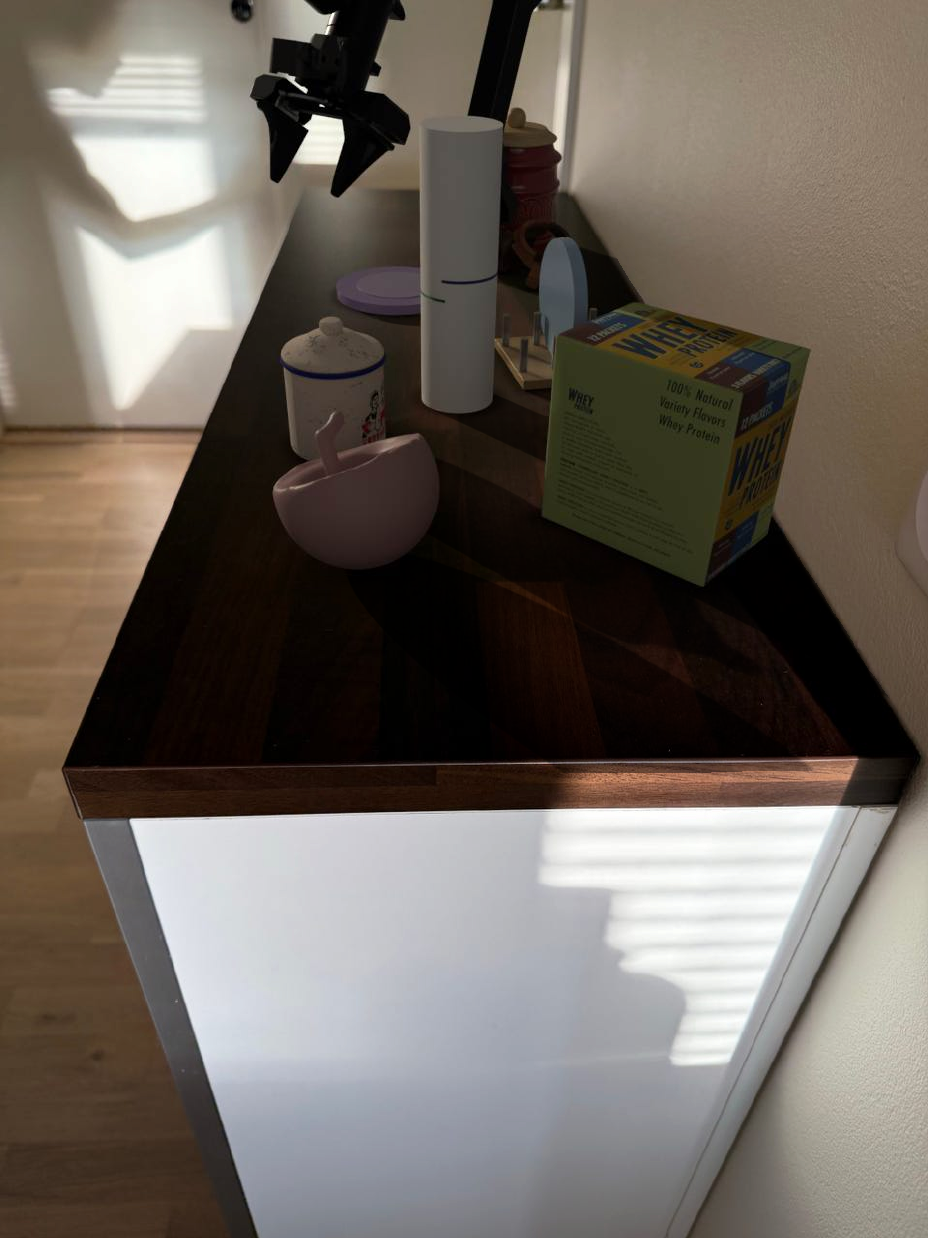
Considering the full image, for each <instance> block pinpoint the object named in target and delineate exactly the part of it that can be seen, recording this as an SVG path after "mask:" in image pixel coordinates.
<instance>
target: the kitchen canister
mask: <svg viewBox="0 0 928 1238" xmlns="http://www.w3.org/2000/svg"><path fill="white" fill-rule="evenodd" d="M557 141H558V136H557V135H556V134H555V133H553V131H551V130H550V129H549V128H548V127H547V126H546V125H544V124H543V123H539V122H533V121H527V115H526V112H525V110H524V109H523V108H521V107H518V106H517V107H511V109H510V108H509V112H508V116H507V120H506V124H505V128H504V133H503V144H504V148H505V152H506V156H507V160H508V171H507V177H506V181H507V183H508V185H509V186H510V188H511V189H512V191H513V192H514V194H515V195H516V197H517V199H518V200H519V205H518V209H517V213H516V217H515V218H513V219H511V222H509V223H501V230H503V231H505V232H507V233H512V232H514V231H516V230H517V229H519V228H521V226H522V225H523V224H524V223H525V222H527V221H529V220H532V219H543V220H547V221H550V222H554V223H556V224H557V216H558V203H559V202H558V200H559V188H560V185H561V181H560V179H559V178H558V166H559V164H560V163H561V161H562V159H563V155H562V154H561V153H560V151H559V150H557V149H556V148H555V145H554V144H555V143H556V142H557ZM553 238H555V236H554V235H553V234H552V233H551V232H550V231H548V230H547V233H546V234H545V235H544V236H542V237H537V239H536V241H535V242H534V244H533V247H532V248H534V249H535V250H537V251H539V252H542V253H544V252H545V250H546V247H547V245H548V243H549V242H550V241H551V240H552V239H553ZM500 251H501V250H500Z"/></svg>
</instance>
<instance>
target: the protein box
mask: <svg viewBox="0 0 928 1238" xmlns="http://www.w3.org/2000/svg"><path fill="white" fill-rule="evenodd" d="M811 353H812V349H810V348H808V347H805V346H801V345H798V344H794V343H790V342H785V341H782V340H778V339H774V338H770V337H766V336H762V335H758V334H756V333H753V332H749V331H745V330H741V329H739V328H735V327H731V326H728V325H724V324H720V323H716V322H715V321H714V322H713V321H709V320H706V319H702V318H697V317H694V316H690V315H686V314H682V313H679V312H675V311H671V310H668V309H664V308H661V307H657V306H654V305H650V304H646V303H642V302H638V301H637V302H636V301H633V302H630V303H628V304H626V305H624V306H622V307H621V306H620V307H619V308H616V309H613V311H610V312H608V313H605V314H603V315H600V316H597V318H595V319H593V320H591V321H589V320H587V322H586V323H583V324H581V325H579V326H576V327H574V328H571V329H569V330H567V331H564V332H562V333H560V334H557V336H556V343H555V355H554V366H553V379H552V388H551V392H550V406H549V418H548V429H547V443H546V452H545V453H546V455H545V466H544V479H543V489H542V491H543V492H542V500H541V502H542V503H541V511H540V514H541V515H540V516H541V517H542V518H544V519H546V520H548V521H551V522H553V523H556V524H558V525H560V526H562V527H564V528H566V529H569V530H571V531H573V532H576V533H578V534H581V535H583V536H585V537H587V538H590V539H592V540H594V541H596V542H598V543H601V544H603V545H606V546H608V547H610V548H612V549H614V550H616V551H619V552H621V553H623V554H625V555H628V556H630V557H633V558H635V559H637V560H639V561H642V562H644V563H646V564H648V565H651V566H653V567H655V568H657V569H660V570H662V571H664V572H665V573H669V574H671V575H673V576H676V577H677V578H679V579H683V580H685V581H687V582H689V583H691V584H694V585H696V586H698V587H701V588H704V587H706V586H707V585H708V584H709V583H710V582H711V581H712V580H713V579H715V578H716V577H717V576H719V575H720V574H721V573H722V572H723V571H725V570H726V569H727V568H728V567H730V566H731V565H732V564H733V563H734V562H736V561H737V560H738V559H739V558H740V557H742V556H743V555H744V554H745V553H747V552H748V551H749V550H750V549H751V548H753V547H754V546H755V545H757V543H759V542H760V541H761V540H762V539H764V538H765V537H766V536H767V535H768V533H769V529H770V524H771V519H772V515H773V512H774V507H775V503H776V497H777V493H778V489H779V485H780V481H781V476H782V472H783V467H784V464H785V459H786V454H787V451H788V448H789V447H788V446H789V442H790V438H791V435H792V434H791V433H792V429H793V425H794V421H795V416H796V412H797V409H798V404H799V399H800V395H801V392H802V387H803V384H804V383H803V382H804V379H805V374H806V371H807V366H808V362H809V358H810V354H811Z"/></svg>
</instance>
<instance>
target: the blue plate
mask: <svg viewBox="0 0 928 1238" xmlns="http://www.w3.org/2000/svg"><path fill="white" fill-rule="evenodd" d="M579 247H580V246H579V245H578V244H577V241H575V240H574V239H573V238H572V237H571V238H569V237H565V238H553V239H552V240H551V241H550V242H549V243H548V245H547V247H546V250H545V251H544V252H543V253H544V256H543V260H542V263H541V264H542V265H541V272H540V282H539V286H538V301H539V302H538V304H539V312H542V320H541V331H542V335H544V338H545V342H546V345H547V347H548V350H549V352H550V353H551V355H552V352H553V339H554V335H557V334H560V333H562V332H564V331H567V330H569V329H571V328H574V327H576V326H579V325H581V324H583V323H586V322H588V313H589V309H588V308H589V296H588V295H589V293H588V280H587V279H588V278H587V272H586V267H585V262H584V258H583V255H582V253H581V249H580V248H579Z"/></svg>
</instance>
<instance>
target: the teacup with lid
mask: <svg viewBox="0 0 928 1238" xmlns="http://www.w3.org/2000/svg"><path fill="white" fill-rule="evenodd" d="M318 324H319V325H318V328H315V329H313V330H310V331H309V332H307V333H303V334H299V335H298V336H295V337H293V338H291V339H290V340H289V341H287V342H286V343H285V344H284V345H283V347H282V349H281V352H280V355H279V361H280V365H281V366H282V367H283V376H284V385H285V386H284V387H285V396H286V406H287V414H288V415H287V417H288V428H289V438H290V439H289V440H290V446H291V448H292V450H293V452H294V453H295V454H296V455H297V456H299V457H300V458H302V459H303V460H306V461H307V462H310V461H312V460H316V459H319V458H321V456H320V453H319V450H318V447H317V444H316V441H315V433H316V432H317V431H318V430H319V429H321V428H322V427H324V426H325V425H326V424H327V422H328V421H329V419H330V416H331V414H332V413H333V412H335V411H340V412H342V413H343V415H344V424H343V426H342V427H341V428H340V430H339V431H338V433H337V435H336V437H335V439H334V447H335V450H336V453H341V452H343V451H347V450H349V449H354V448H356V447H360V446H363V445H366V444H370V443H373V442H376V441H380V440H384V439H387V433H386V432H387V429H386V401H385V400H386V399H385V372H384V369H385V367H384V363H385V362H386V359H387V354H386V351H385V349H384V346H383V345H382V343H381V342H380V341H379V340H378V339H377V338H374V337H373V336H371V335H369V334H366V333H362V332H359V331H354V330H353V329H351V328H349V327H345V326H344V322H343V320H341V318H339V317H338V316H337V317H336V316H326V317H323V318H321V319H320V320H319V323H318Z"/></svg>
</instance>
